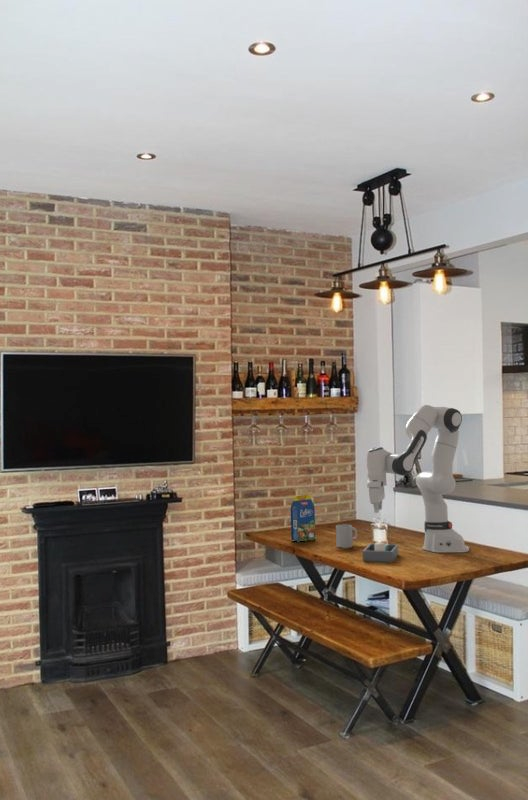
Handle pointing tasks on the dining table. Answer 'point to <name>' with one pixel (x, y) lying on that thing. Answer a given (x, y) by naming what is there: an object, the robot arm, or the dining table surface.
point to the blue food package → (302, 518)
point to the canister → (379, 546)
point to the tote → (380, 554)
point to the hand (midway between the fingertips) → (378, 511)
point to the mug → (345, 535)
